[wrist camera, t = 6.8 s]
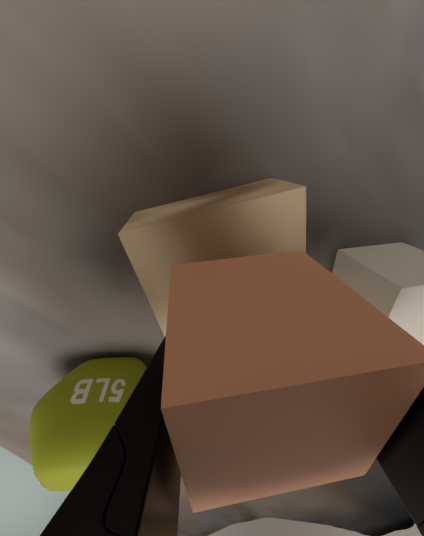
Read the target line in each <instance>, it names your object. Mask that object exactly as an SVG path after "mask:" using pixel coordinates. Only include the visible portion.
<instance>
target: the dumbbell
mask: <svg viewBox="0 0 424 536" xmlns="http://www.w3.org/2000/svg"><path fill="white" fill-rule="evenodd" d="M146 368H147V367H146V366H145V364H144V363H143V362H142V361H141V360H140V359H138V358H135V357H111V358H98V359H92V360H88V361H86V362H84V363H82V364H81V365H79V366H78V367H76V368H75V369H74V370H72V371H71V372H70V373H69V374H68V375H66V376H65V377H64V378H63V379H62V380H61V381H59V382H58V383H57V384H56V385H55V386H54V387H53V388H51V389H50V390H49V391H48V392H47V393H46V394H45V395H44V396H43V397H42V398H41V399H40V400H39V401H38V403H37V404H36V406H35V407H34V409H33V412H32V414H31V421H30V445H31V457H32V464H33V469H34V473H35V476H36V477H37V478H38V480H39V482H40V483H41V485H42V486H43V487H44V488H47V489H49V490H51V491H71V490H72V489H73V487H74V486H75V484H76V483H77V481H78V480H79V478H80V477H81V475H82V474H83V473H84V471H85V470H86V468H87V467H88V465H89V464H90V462H91V460H92V459H93V457H94V456H95V454H96V452H97V451H98V449H99V448H100V446H101V444H102V443H103V441H104V439H105V438H106V436H107V434H108V433H109V431H110V429H111V427H112V426H113V425H115V421H116V419H117V417H118V416H119V414H120V412H121V411H122V409H123V407H124V406H125V404H126V402H127V400H128V399H129V397H130V395H131V394H132V392H133V390H134V389H135V387H136V385H137V384H138V382H139V380H140V378H141V377H142V375H143V373H144V372H145V370H146Z"/></svg>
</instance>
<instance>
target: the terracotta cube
mask: <svg viewBox="0 0 424 536" xmlns="http://www.w3.org/2000/svg"><path fill="white" fill-rule="evenodd" d="M423 387H424V345H423V344H422V343H420V342H419V341H418V340H416V339H415V338H414V337H413V336H411V335H410V334H409V333H408V332H406V331H405V330H404V329H402V328H401V327H400V326H399V325H397V324H396V323H395V322H394V321H392V320H391V319H390V318H388V317H387V316H386V315H385V314H383V313H382V312H381V311H379V310H378V309H377V308H376V307H374V306H373V305H372V304H371V303H369V302H368V301H367V300H365V299H364V298H363V297H362V296H360V295H359V294H358V293H356V292H355V291H354V290H353V289H351V288H350V287H349V286H348V285H346V284H345V283H344V282H342V281H341V280H340V279H339V278H337V277H336V276H335V275H334V274H332V273H331V272H330V271H328V270H327V269H326V268H325V267H323V266H322V265H321V264H319V263H318V262H317V261H316V260H314V259H313V258H312V257H311V256H309V255H308V254H307V253H305V252H304V251H303V250H298V251H289V252H280V253H272V254H263V255H255V256H246V257H237V258H229V259H220V260H212V261H203V262H194V263H186V264H177V265H171V272H170V286H169V300H168V314H167V328H166V342H165V356H164V370H163V384H162V398H161V411H162V414H163V417H164V421H165V424H166V427H167V430H168V433H169V437H170V440H171V443H172V446H173V449H174V453H175V456H176V459H177V462H178V465H179V469H180V472H181V475H182V478H183V482H184V485H185V488H186V491H187V494H188V498H189V501H190V504H191V507H192V510H193V513H195V512H199V511H204V510H209V509H213V508H218V507H222V506H227V505H231V504H236V503H240V502H245V501H249V500H254V499H258V498H263V497H267V496H272V495H277V494H281V493H286V492H290V491H295V490H299V489H304V488H308V487H313V486H317V485H322V484H326V483H331V482H335V481H340V480H345V479H349V478H354V477H358V476H363V475H365V474H366V472H367V471H368V469H369V468H370V466H371V465H372V463H373V462H374V460H375V459H376V457H377V456H378V454H379V453H380V451H381V450H382V448H383V447H384V445H385V444H386V442H387V441H388V439H389V438H390V436H391V435H392V433H393V432H394V430H395V429H396V427H397V426H398V424H399V423H400V421H401V420H402V418H403V417H404V415H405V414H406V412H407V411H408V409H409V408H410V406H411V405H412V403H413V402H414V400H415V399H416V397H417V396H418V394H419V393H420V391H421V390H422V388H423Z"/></svg>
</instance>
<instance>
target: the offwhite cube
mask: <svg viewBox="0 0 424 536" xmlns="http://www.w3.org/2000/svg"><path fill="white" fill-rule="evenodd" d="M332 274H334V275H335V276H336V277H337V278H339V279H340V280H341V281H342V282H344V283H345V284H346V285H348V286H349V287H350V288H351V289H353V290H354V291H355V292H356V293H358V294H359V295H360V296H362V297H363V298H364V299H365V300H367V301H368V302H369V303H371V304H372V305H373V306H374V307H376V308H377V309H378V310H379V311H381V312H382V313H383V314H385V315H386V316H387V317H388V318H390V319H391V320H392V321H394V322H395V323H396V324H397V325H399V326H400V327H401V328H402V329H404V330H405V331H406V332H408V333H409V334H410V335H411V336H413V337H414V338H415V339H416V340H418V341H419V342H420V343H422V344H423V345H424V251H423V250H420V249H418V248H415V247H413V246H410V245H408V244H405V243H403V242H401V243H391V244H382V245H373V246H364V247H354V248H345V249H338V251H337V255H336V259H335V263H334V267H333V271H332Z"/></svg>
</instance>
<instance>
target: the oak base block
mask: <svg viewBox="0 0 424 536" xmlns="http://www.w3.org/2000/svg"><path fill="white" fill-rule="evenodd" d="M118 236H119V238H120V240H121V242H122V244H123V246H124V249H125V251H126V253H127V255H128V257H129V260H130V262H131V264H132V266H133V268H134V271H135V273H136V275H137V277H138V279H139V282H140V284H141V286H142V288H143V290H144V292H145V295H146V297H147V299H148V301H149V303H150V306H151V308H152V310H153V312H154V314H155V317H156V319H157V321H158V323H159V325H160V327H161V330H162V332H163V334H164V336H166V328H167V314H168V300H169V286H170V272H171V265H177V264H186V263H194V262H203V261H212V260H220V259H229V258H237V257H246V256H255V255H263V254H272V253H280V252H289V251H298V250H303V251H304V252H305V253H306V186H303V185H299V184H295V183H291V182H287V181H283V180H279V179H275V178H269V179H265V180H261V181H257V182H253V183H249V184H245V185H241V186H237V187H233V188H229V189H225V190H221V191H217V192H213V193H209V194H205V195H201V196H197V197H193V198H189V199H185V200H181V201H177V202H173V203H169V204H165V205H161V206H157V207H153V208H149V209H145V210H141V211H137V212H134V213H133V214H132V216H131V217H130V218H129V220H128V221H127V222H126V224H125V225H124V226H123V228H122V229H121V230H120V232H119V233H118Z"/></svg>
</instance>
